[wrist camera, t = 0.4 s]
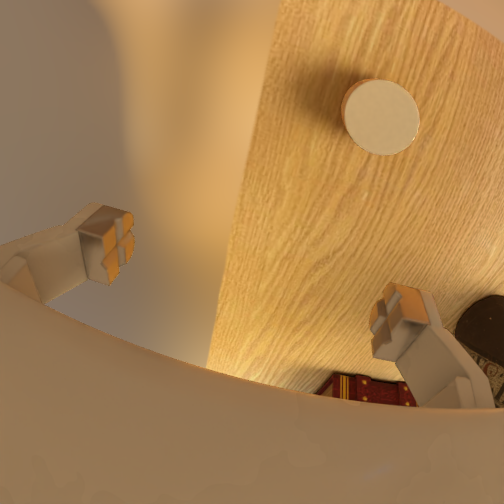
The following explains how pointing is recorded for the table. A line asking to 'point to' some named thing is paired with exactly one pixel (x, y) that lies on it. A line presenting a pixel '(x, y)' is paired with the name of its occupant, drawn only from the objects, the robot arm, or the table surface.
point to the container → (486, 341)
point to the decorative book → (368, 391)
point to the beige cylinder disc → (380, 116)
